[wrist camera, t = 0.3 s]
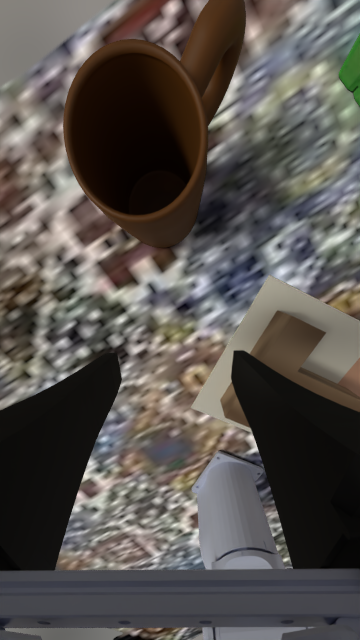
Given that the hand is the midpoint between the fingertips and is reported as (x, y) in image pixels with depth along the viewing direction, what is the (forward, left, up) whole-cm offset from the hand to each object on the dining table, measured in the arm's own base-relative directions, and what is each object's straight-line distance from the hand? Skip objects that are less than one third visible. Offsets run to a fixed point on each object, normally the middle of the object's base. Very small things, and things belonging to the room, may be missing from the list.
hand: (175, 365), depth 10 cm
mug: (+12, +6, -11) cm, 17 cm away
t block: (-1, -17, -10) cm, 20 cm away
